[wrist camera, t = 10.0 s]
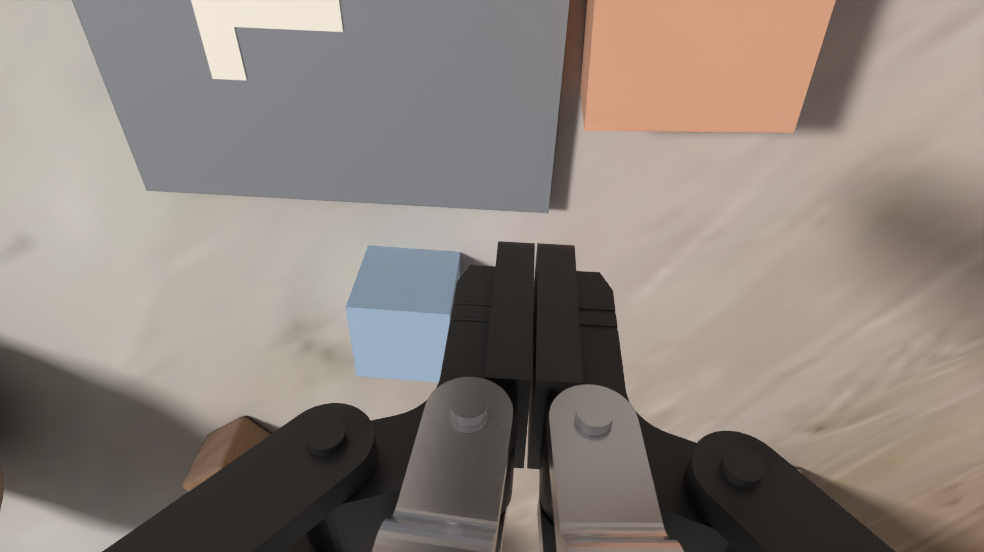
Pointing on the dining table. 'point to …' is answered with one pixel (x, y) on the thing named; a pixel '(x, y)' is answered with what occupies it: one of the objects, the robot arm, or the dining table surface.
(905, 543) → the dining table surface
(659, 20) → the terracotta block
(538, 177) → the letter board
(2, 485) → the ceramic bowl
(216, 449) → the wooden block
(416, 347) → the blue cube
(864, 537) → the robot arm
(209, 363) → the dining table surface
